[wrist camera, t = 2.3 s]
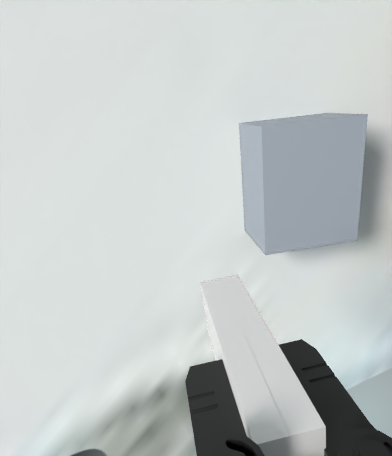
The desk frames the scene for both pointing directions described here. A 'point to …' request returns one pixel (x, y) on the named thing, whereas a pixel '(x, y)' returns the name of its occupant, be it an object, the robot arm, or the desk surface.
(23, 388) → the desk surface
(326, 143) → the slate block
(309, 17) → the desk surface
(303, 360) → the robot arm
